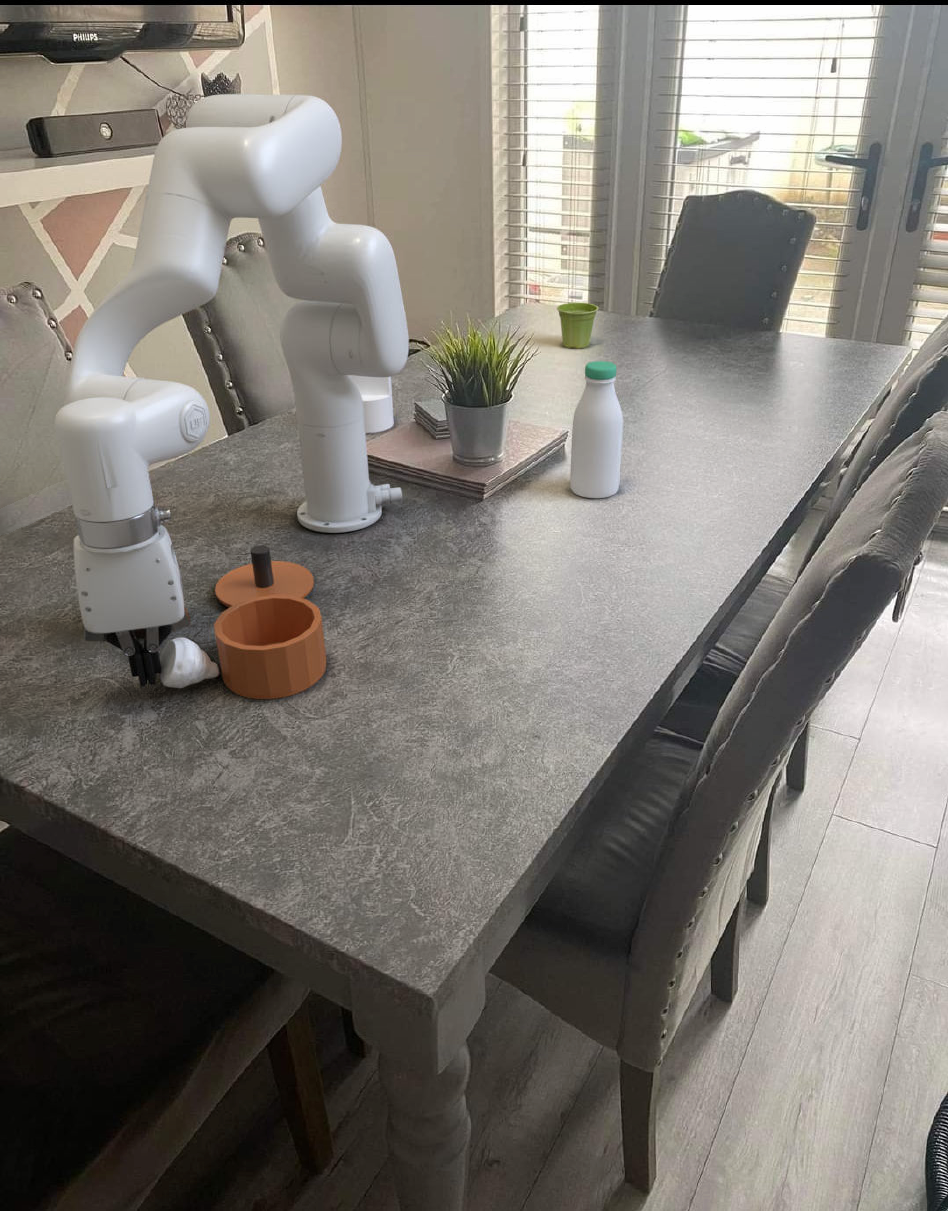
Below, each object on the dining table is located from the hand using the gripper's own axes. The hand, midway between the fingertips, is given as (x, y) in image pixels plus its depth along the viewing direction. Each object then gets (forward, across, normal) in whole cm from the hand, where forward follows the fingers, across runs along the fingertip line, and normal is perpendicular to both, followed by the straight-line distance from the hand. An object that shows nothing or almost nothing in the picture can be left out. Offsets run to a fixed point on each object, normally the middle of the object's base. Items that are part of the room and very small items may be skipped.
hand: (148, 679), depth 105 cm
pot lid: (+1, -14, -20) cm, 24 cm away
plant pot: (-3, -95, -115) cm, 149 cm away
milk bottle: (0, -67, -37) cm, 77 cm away
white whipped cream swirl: (+2, -4, 0) cm, 4 cm away
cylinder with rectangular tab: (-1, -39, -78) cm, 87 cm away
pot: (+2, -14, -1) cm, 14 cm away
